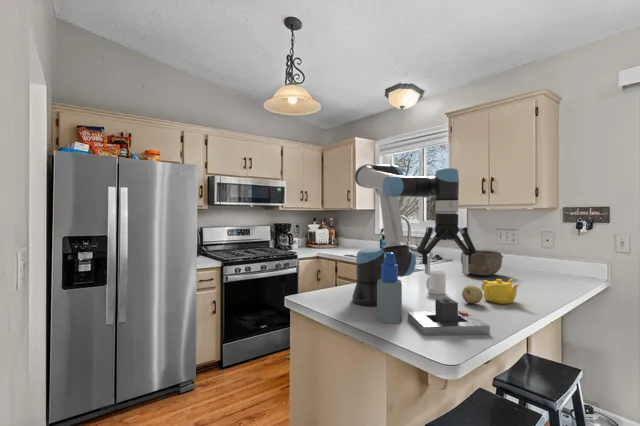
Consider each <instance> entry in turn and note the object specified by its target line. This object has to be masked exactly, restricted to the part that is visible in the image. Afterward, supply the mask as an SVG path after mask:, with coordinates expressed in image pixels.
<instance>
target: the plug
mask: <svg viewBox="0 0 640 426" xmlns="http://www.w3.org/2000/svg"><path fill="white" fill-rule="evenodd" d="M434 300H435V303H434V304H435V309H434V312H435V323H439V322H458V311H459V302H457V301H456V300H453V299H452V298H450V296H443V298H435V299H434Z"/></svg>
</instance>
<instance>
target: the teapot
mask: <svg viewBox="0 0 640 426" xmlns="http://www.w3.org/2000/svg"><path fill="white" fill-rule="evenodd" d="M513 280H514V278H510V279H508V281H507V282H506V281H503V279H501V278H496V279H495V280H492V281H489V280H486V279H484V280H483V281H482V283H481V288H480V290H481V291H483V298H484V299H485V301H487V302H490V303H494V304H498V305H499V304H501V305H505V304H506V305H507V304H508V305H509V304H511V303H514V301H515V299H516V296H517V288H518V287H519V286H520V284H514V285H512V282H513Z"/></svg>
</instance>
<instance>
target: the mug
mask: <svg viewBox="0 0 640 426" xmlns="http://www.w3.org/2000/svg"><path fill="white" fill-rule="evenodd" d="M446 276H447V275H446V272H445V271H442V270H430V275H427V279H426V283H425V286H426V289H427V292H428V294H430V295H440V296H442V295H444V294H446V290H447V289H446V286H447V285H446V282H447V281H446V280H447V279H446Z"/></svg>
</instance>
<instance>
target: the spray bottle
mask: <svg viewBox="0 0 640 426" xmlns="http://www.w3.org/2000/svg"><path fill="white" fill-rule="evenodd" d="M402 292H403V283H402V280H400V279H399V277H398V264H396V260H395V253H392V252H384V263H383V264H381V279H379V280H378V282H377V306H376V320H377V321H378V322H379V323H381V324H386V325H396V324H400V323H402V321H403V319H402V316H403V314H402V312H403V307H402V304H403V301H402V300H403V293H402Z"/></svg>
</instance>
